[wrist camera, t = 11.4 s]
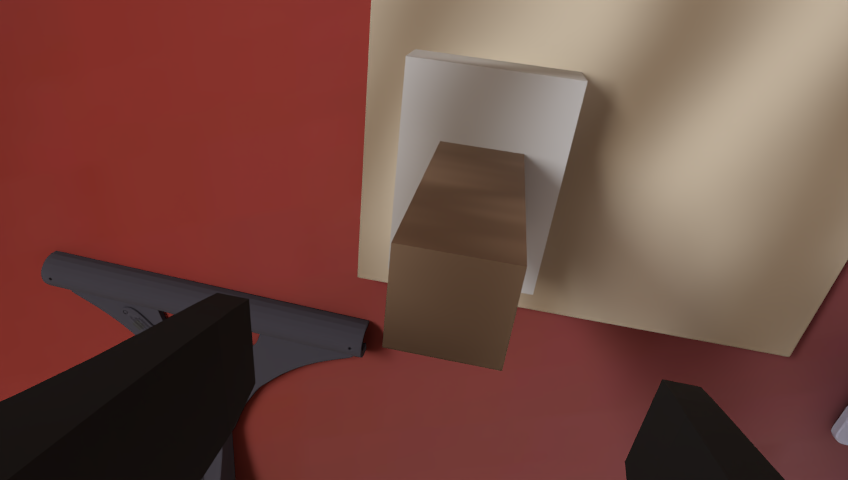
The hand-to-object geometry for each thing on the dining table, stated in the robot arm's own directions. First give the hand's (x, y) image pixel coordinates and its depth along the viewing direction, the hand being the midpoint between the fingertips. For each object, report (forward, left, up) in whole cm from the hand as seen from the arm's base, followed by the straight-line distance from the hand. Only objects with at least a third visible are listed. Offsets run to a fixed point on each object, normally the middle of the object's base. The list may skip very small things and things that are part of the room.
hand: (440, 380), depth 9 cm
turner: (0, -1, -9) cm, 9 cm away
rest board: (-4, -2, -10) cm, 11 cm away
